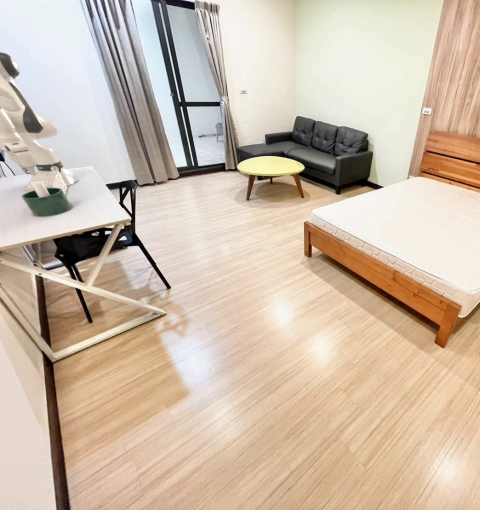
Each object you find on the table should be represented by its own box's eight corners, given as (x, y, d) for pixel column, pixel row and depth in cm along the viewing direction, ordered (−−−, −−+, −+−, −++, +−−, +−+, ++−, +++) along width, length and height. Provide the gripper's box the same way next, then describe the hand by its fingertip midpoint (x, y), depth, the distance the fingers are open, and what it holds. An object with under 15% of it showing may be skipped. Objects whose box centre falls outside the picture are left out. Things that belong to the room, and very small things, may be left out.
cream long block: (45, 189, 169) (35, 172, 163) (67, 186, 174) (58, 170, 168) (37, 207, 148) (24, 189, 142) (62, 203, 153) (51, 185, 147)
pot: (28, 211, 144) (16, 194, 138) (64, 202, 155) (54, 185, 149) (40, 219, 138) (28, 201, 132) (76, 208, 149) (67, 191, 143)
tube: (51, 211, 144) (34, 184, 135) (45, 210, 145) (28, 183, 136) (60, 208, 147) (44, 181, 139) (53, 207, 148) (37, 180, 140)
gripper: (-6, 142, 129) (13, 170, 136) (10, 149, 121) (29, 179, 129) (12, 140, 133) (29, 167, 141) (29, 146, 125) (46, 175, 133)
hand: (29, 173), depth 135 cm, fingers open, 8 cm apart
